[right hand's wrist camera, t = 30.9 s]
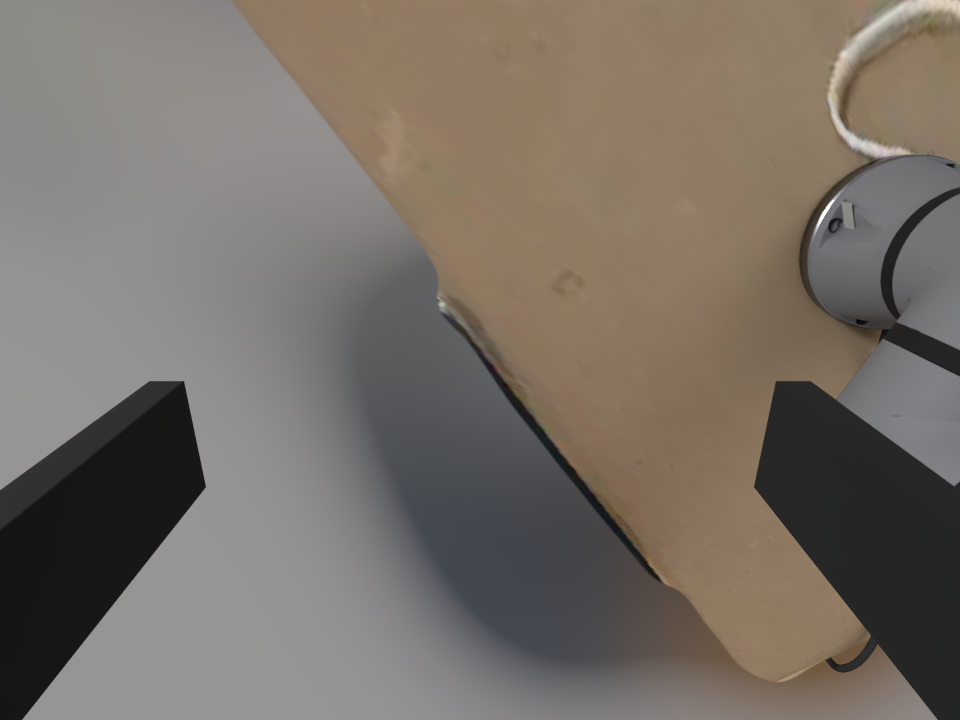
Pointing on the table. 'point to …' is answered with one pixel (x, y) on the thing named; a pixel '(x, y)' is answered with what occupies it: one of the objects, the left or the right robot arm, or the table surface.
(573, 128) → the table surface
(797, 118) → the table surface
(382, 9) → the table surface
